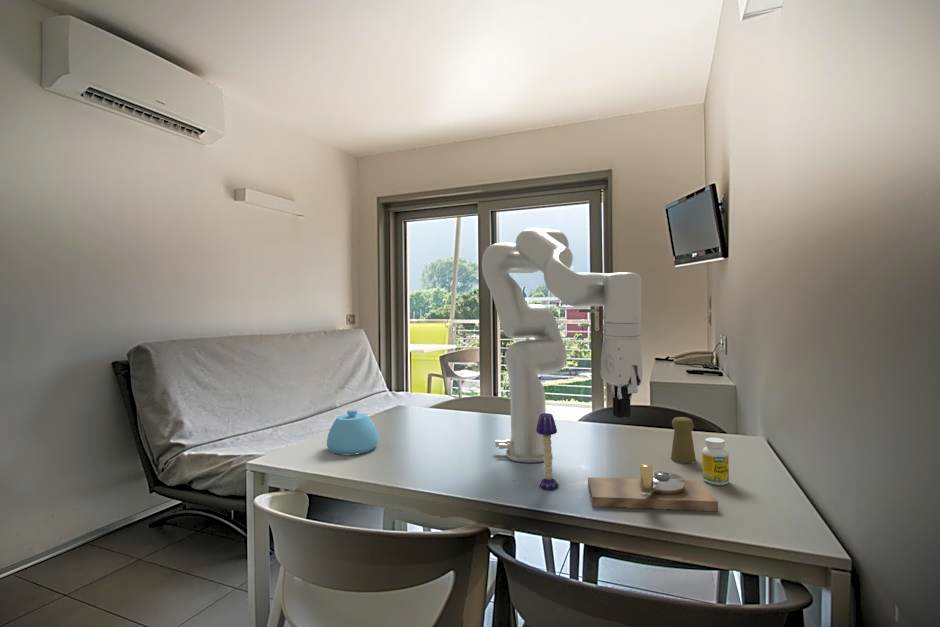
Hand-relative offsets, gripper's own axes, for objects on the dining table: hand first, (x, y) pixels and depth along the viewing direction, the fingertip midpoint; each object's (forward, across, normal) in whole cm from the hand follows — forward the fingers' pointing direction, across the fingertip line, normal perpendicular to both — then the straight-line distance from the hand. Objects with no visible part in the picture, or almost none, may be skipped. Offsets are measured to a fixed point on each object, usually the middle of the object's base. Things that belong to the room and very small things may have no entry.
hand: (621, 416), depth 103 cm
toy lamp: (+18, -8, -14) cm, 24 cm away
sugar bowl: (+20, -51, -59) cm, 80 cm away
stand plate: (+17, +3, +5) cm, 18 cm away
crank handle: (+15, +4, +6) cm, 17 cm away
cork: (+18, -17, +27) cm, 36 cm away
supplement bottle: (+17, -2, +24) cm, 30 cm away
